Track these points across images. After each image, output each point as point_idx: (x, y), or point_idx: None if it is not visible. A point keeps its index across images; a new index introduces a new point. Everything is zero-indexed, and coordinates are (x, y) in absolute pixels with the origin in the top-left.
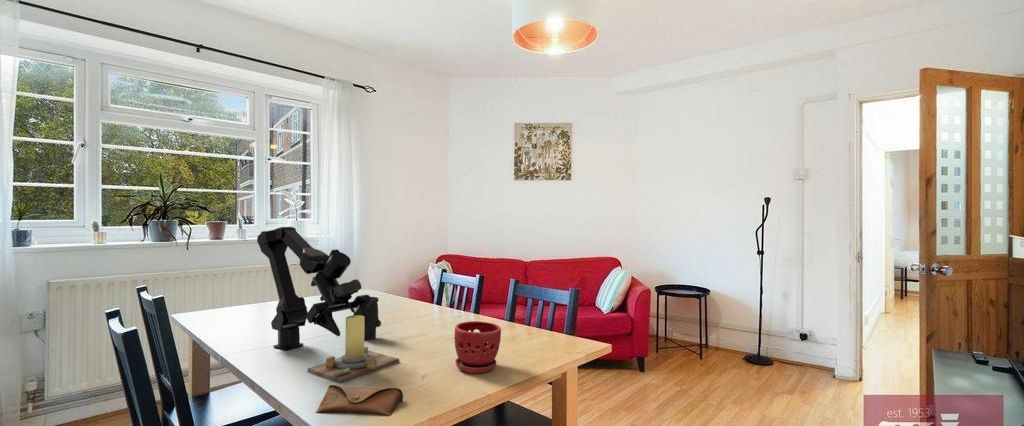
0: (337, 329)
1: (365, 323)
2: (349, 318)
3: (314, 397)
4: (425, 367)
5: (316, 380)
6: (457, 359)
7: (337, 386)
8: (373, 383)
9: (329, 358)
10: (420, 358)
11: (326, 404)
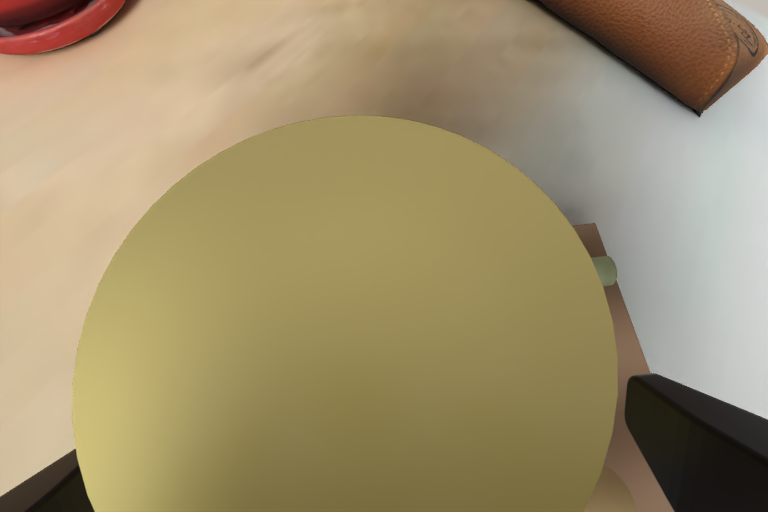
0: (724, 411)
1: (59, 484)
2: (535, 307)
3: (750, 165)
4: (154, 131)
5: (694, 373)
6: (51, 26)
7: (715, 2)
8: (456, 130)
9: (608, 488)
10: (37, 250)
11: (743, 20)
